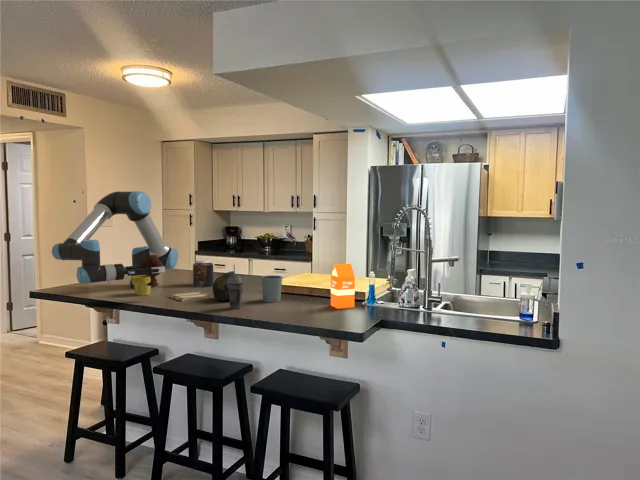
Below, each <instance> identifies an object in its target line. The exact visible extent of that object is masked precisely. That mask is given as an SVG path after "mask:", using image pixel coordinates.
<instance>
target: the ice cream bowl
mask: <svg viewBox="0 0 640 480" xmlns="http://www.w3.org/2000/svg"><path fill="white" fill-rule="evenodd" d="M153 267H164V265H163V264H162V262H161V261H159V258H158V256H157V255H150V256H149V257H148V258H146V259H144V260H143V262H142V266H140V268H153ZM149 272H150V271H149ZM160 274H161V273H152V275H151V274H145V275H147V276H149V277H150V278H151V282H149V283H148V284H147V286H154V287H157V286H159V283H158V282H157V283H156V282H155V281H154V278H155V277H157V276H159V275H160ZM156 285H157V286H156Z"/></svg>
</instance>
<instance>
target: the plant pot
mask: <svg viewBox="0 0 640 480" xmlns="http://www.w3.org/2000/svg"><path fill="white" fill-rule="evenodd" d="M149 282H151V278H150V277H149V276H147V275H139V276H133V277H132V283H133V284H134V291H135V294H136V296H137V295H138V296H142V297H143V296H149V295H150V294H151V289H152V287H151V286H147V284H148V283H149ZM138 296H137V297H138Z"/></svg>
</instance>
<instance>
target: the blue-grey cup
mask: <svg viewBox="0 0 640 480" xmlns="http://www.w3.org/2000/svg"><path fill="white" fill-rule="evenodd" d="M282 284H283V276H282V275H271V274H270V275H263V276H261V286H262V301H263V302H264V303H278V302H280V301H281V298H282V297H281V296H282V294H281V293H282Z"/></svg>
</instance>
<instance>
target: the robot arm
mask: <svg viewBox="0 0 640 480" xmlns="http://www.w3.org/2000/svg"><path fill="white" fill-rule="evenodd" d="M151 210H152V201H151V198H150V196H149V195H148V194H147V193H146V192H143V191H139V190H133V191H120V190H119V191H113V192H110V193H108V194H106V195H104V197H102V198H101V199H100V200H99V201H97V202H96V203H95V204H94V206H93V210H92V211H91V212H90V213H89V214H88V215H87V216H86V218H85V219H84V220H82V222H80V224H79V225H78V226H77V227H76V228H75V229H74V231H73V232H72V233H71V234H70V235H69V236H68V237H67V239H66V240H64V241H63V242H62V243H61V242H58V243H56V244H54V245H53V246H52V248H51V256H52V257H53V258H54V259H55V260H59V261H60V260H61V261H81V266H79V267H77V268H76V279H77V281H78V283H79V284H93V283H101V282H106V283H109V282H110V281H121V280H124V279H125V276H129V277H130V276H131V277H130V280H129V287H130V288H132V287H134V284H133V283H132V277H133V276H139V275H145V274H151V275H152V273H160V274H162V273H166V270H170V269H171V270H172V269H174V268H175V267H176V266H177V264H178V260H179V253H178V250H177V248H171V246H170V244H169V243H168V242H165V241H164V239H163V237H162V235H161V234H160V232H159V230H158V228H157V226H156V224H155V223H154V220H153V219H152V217H151V215H150V213H151ZM114 215H126V218H128V220H129V221H131V222H134V224H135V226H136V228H137V229H138V231H139V233H140V235H141V236H142V238H143V240H144V241H145V243H146V245H145V246H140V247H137V246H136V247H134V248H132V250H131V259H132V260H131V264H132V265H129V266H124V264H122V263H114V264H101V247H100V241H99V240H97V239H91V238H92V237H93V236H94V234H96V232H97V231H98V230H99V229H100V227H102V225H103V224H104V223H105V221H107V220H110V219H111V218H112V217H113V216H114ZM150 255H157V256H158V258H159V261H161V262H162V264H163V265H164V267H153V268H140V266H142V262H143V260H144V259H146V258H148V257H149V256H150ZM149 271H150V272H149ZM154 281H155V282H156V283H158V280H157V276H155V278H154ZM157 286H158V285H156V286H151V288H153V287H157Z"/></svg>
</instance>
